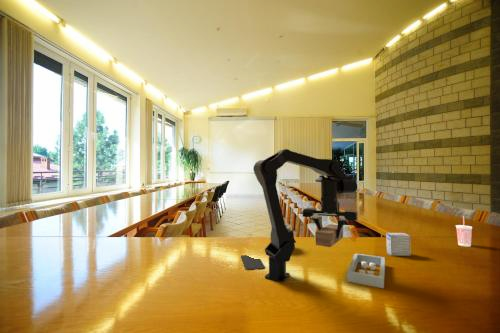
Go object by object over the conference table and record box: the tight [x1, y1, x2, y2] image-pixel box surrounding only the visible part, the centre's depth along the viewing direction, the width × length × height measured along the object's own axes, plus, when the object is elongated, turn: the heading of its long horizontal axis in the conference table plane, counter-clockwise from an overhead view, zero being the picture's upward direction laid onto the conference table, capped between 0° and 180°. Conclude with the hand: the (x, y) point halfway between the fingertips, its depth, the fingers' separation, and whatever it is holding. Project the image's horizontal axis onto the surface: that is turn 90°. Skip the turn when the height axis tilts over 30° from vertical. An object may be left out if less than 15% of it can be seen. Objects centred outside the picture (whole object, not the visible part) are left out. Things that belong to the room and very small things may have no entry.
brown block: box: [315, 224, 344, 248], centre depth 91 cm, size 15×5×4 cm, turn 144°
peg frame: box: [346, 253, 386, 289], centre depth 87 cm, size 21×10×3 cm, turn 151°
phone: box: [240, 254, 266, 271], centre depth 97 cm, size 7×1×15 cm
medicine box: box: [385, 232, 412, 257], centre depth 106 cm, size 8×4×9 cm, turn 84°
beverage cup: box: [455, 215, 473, 248], centre depth 120 cm, size 6×6×14 cm
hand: (330, 237), depth 91 cm, fingers closed on brown block, 5 cm apart
